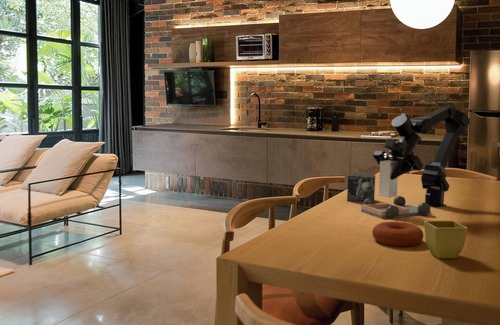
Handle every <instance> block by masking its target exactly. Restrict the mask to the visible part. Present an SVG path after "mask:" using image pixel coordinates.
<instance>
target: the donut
mask: <svg viewBox="0 0 500 325" xmlns="http://www.w3.org/2000/svg"><path fill="white" fill-rule="evenodd" d="M371 233H372V237H373V238H374V239H375V241H377V242H379V243H381V244H383V245H386V246H391V247H399V248H400V247H401V248H402V247H405V248H406V247H407V248H408V247H413V246H417V245H419V244H420V243H421V242H422V241H423V239H424V237H425V233H424V231H423V230H422V229H421V227H419V226H418V225H416V224H413V223H409V222H405V221H404V222H403V221H383V222H380V223H377V224H375V225H374V227H373V228H372V232H371Z"/></svg>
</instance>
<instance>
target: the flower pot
mask: <svg viewBox="0 0 500 325" xmlns="http://www.w3.org/2000/svg"><path fill="white" fill-rule="evenodd" d="M423 225H424V226H423V227H424V238H425V242H426V245H427V246H426V247H428V250H429V251H430V253H431V255H433V256H435V257H436V258H438V259H440V258H441V259H457V258H458V257H459V256H460V254H461V253H462V251H463V250H464V248H465V243H466V238H467V233H468V227H467V226H465V225H464V224H463V225H462V224H461V223H460V222H458V221H455V220H424V221H423Z"/></svg>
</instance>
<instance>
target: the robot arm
mask: <svg viewBox="0 0 500 325" xmlns="http://www.w3.org/2000/svg"><path fill="white" fill-rule="evenodd" d="M470 120H471V119H470V118H469V116H468V115H467V114H466V113H464V112H462V111H461V110H459V109H457V108H456V107H455V106H453V105H443V106H440V108H437V109H436V110H434V111H432V112H430V113H428V114H426V115H424V116H415V117H412V118H409V115H408V114H407V113H406V112H405V113H401V114H400V115H397V116H396V117H395V118H393V119H392V121H391V125H392V127H393V129H394V131H395V132H396V134H397V135H398V137H401V138H399V139H397V138H386V140H385V143H384V146H383V147H384V148H386V149H388V153H389V154H391V155H389V154H387V153H386V151H385V150H375V151H374V152H373V154H372V157H373V158H374V160H375V161H376V163H377V164H378V165H379V166H380V161H386V160H390V161H398V165H397V167H396V169H395V171H394V172H393V174H392V176H391V179H392V180H393V179H395V178H397V177H398V178H399V177H401V176H403V175H404V174H406V173H408V172H411V171H412V170H413V171H417V172H421V170H422V169H423V167H424V169H423V170H422V172H421V174H422V175H421V177H420V182H421V185H422V186H421V187H422V189H424V190H426V192H425V197H424V198H425V200H424V203H427V204H429V205H430V207H432V208H437V207H447V204H445V202H444V201H445V192H448V191H449V189H450V184H449V183H448V181H447V179H446V178H447V172H446V167H447V164H448V163H449V160H450V157H451V156H452V152H453V150H454V148H455V145H456V144H457V141H458V139H459V137H460V136H461V135H462V134H464V133H465V132H466V130H467V128H468V127H469V126H470V123H471V121H470ZM441 122H443V123H444V128H445V134H444V136H443V137H442V140H441V143H440V145H439V147H438V149H437V152H436V155H435V157H434V159H433V161H432V163H431V164H426V165H425V166H424V164H423V162H422V160H421V158H420V156H419V155H417V154H415V152H414V150H415V148H416V146H418V145H423V140H422V137H421V136H420V135H427V134H428V133H430V132H431V131H432V130H433V127H434V126H435V125H438V124H439V123H441Z"/></svg>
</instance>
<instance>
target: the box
mask: <svg viewBox="0 0 500 325" xmlns="http://www.w3.org/2000/svg"><path fill="white" fill-rule="evenodd" d="M375 187H376V175H375V174H365V173H364V174H362V173H361V174H360V173H349V174H348V175H347V190H346V191H347V196H346V201H347V202H355V203H363V202H364V200H365V199H367V198H370V199H373V200H374V201H375V194H376V193H375V191H376V188H375Z"/></svg>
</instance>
